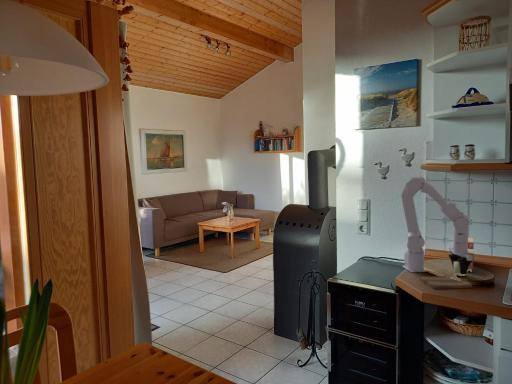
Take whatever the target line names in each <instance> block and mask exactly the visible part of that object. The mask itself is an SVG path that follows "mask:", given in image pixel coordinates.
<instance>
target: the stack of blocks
mask: <svg viewBox="0 0 512 384" xmlns="http://www.w3.org/2000/svg"><path fill="white" fill-rule="evenodd" d="M468 252H470V255H471V256H473V260H472V262H471V264H470V265H469V267H468V269H473V270H474V260H475V258H474V257H475V253H474V252H475V251H474V237H469V236H468Z"/></svg>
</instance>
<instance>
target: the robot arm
mask: <svg viewBox="0 0 512 384" xmlns="http://www.w3.org/2000/svg"><path fill="white" fill-rule="evenodd" d="M419 191H420V193H424V194H427V195H428V196H429V197H431V198H432V200H434V201H435V202H436V203H437V204H438V206H440V212H442V213H443V215H445V217H446V218H447V219H449V221H451V222H452V224H453V227H454V230H453V245H452V246H453V247H449V248H448V257H449V259H450V262H451V266H452V269H453V270H454V261H459V264H460V273H461V274H466V275H467V273H468V272H467V270H468V267H469V265H470V264H471V262H472V260H473V256H471V255H470V252H468V237H469V223H470V219H469V217H468V216H467V215H465V213H464V212H463V211H461V210H460V209H459V208H458V207H457V204H456V203H455V202H453V203H452V201H448V200H447V201H446V199H445V198H444V197H443V196H442V195H441V194H440V193H439V192H438V190H437V189H436V188H435V187H434V186H433V185H432V184H431V183H430V182H429V181H427V180H426V179H425V178H424V177H423V176H421V175H417V176H414V177H410V178H409V180H407V182H405V185H404V188H403V190H402V192H401V201H402V208H403V211H404V217H405V223H406V227H407V245H406V246H407V250H406V251H405V252H404V261H403V262H404V263H403V264H404V265H402V267H403V268H404V269H405V270H407V271H408V272H410V273H425V272H427V273H428V270H427V269H426V270H427V271H426V270H424V269H425V250H424V248H423V247H424V246H425V243H426V241H425V239H424V237H422V233H421V231H420V228H419V227H420V226H419V223H418V217H417V212H416V211H417V210H416V206H415V202H414V197H415V196H416V194H417V193H418V192H419ZM473 261H474V260H473Z"/></svg>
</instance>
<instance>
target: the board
mask: <svg viewBox="0 0 512 384" xmlns="http://www.w3.org/2000/svg"><path fill="white" fill-rule="evenodd" d="M446 276H447V275H436V276H434V275H433V276H420V277H419V281H421V282H423V283H424V284H426V285H427V286H429V287H430V288H432V289H434V290H443V289H444V290H445V289H464V288H466V289H467V288H468V289H469V288H473V284H472V283H471V282H469V281H467V280H465V281H464V282H463V281H462V282H461V281H457V280H454V279H451V278H449V277H446Z"/></svg>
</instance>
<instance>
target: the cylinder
mask: <svg viewBox="0 0 512 384" xmlns="http://www.w3.org/2000/svg"><path fill="white" fill-rule="evenodd" d="M453 272H454V273H460V264H459V261H454V270H453Z"/></svg>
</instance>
